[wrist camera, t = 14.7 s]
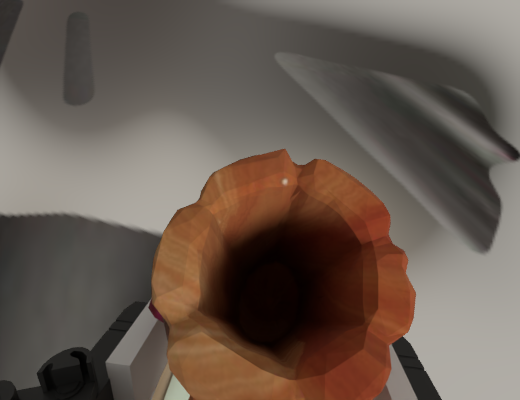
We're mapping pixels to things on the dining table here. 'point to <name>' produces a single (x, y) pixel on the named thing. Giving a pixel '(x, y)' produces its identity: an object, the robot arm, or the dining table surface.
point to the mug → (281, 285)
